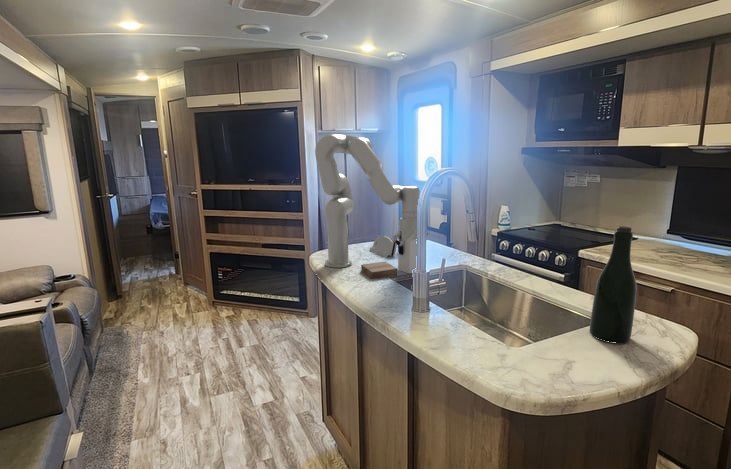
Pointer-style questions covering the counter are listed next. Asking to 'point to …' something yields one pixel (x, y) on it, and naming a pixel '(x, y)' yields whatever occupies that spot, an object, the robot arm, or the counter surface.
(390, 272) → the walnut stand
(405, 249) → the milk carton
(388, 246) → the grey rounded slab
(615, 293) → the dark green wine bottle
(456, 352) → the counter surface
